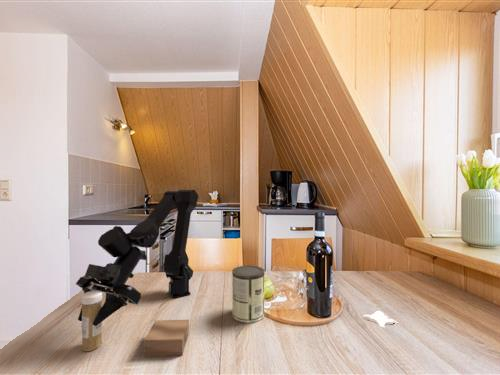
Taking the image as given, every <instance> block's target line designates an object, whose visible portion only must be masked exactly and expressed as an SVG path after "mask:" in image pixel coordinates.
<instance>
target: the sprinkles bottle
mask: <svg viewBox="0 0 500 375" xmlns="http://www.w3.org/2000/svg"><path fill="white" fill-rule="evenodd" d="M102 298H103V292H101V291H98V290H96V291H89V292H86V293H84V292H83V294H82V295H81V298H80V299H81V300H80V301H81V302H80V304H81V308H82V321H81V337H82V341H81V344H82V345H81V350H82V351H84V352H92V351H95V350H97V349H98V348H100V347H101V346H102V344H103V338H102V337H103V335H102V332H103V321H102V322H101V323H100V324H98V325H97V326H94V325H93V322H94V320H95V318H96V316H97V315H98V313H99V311H100V310H101V308H102V306H103V305H102V301H103V299H102Z"/></svg>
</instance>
